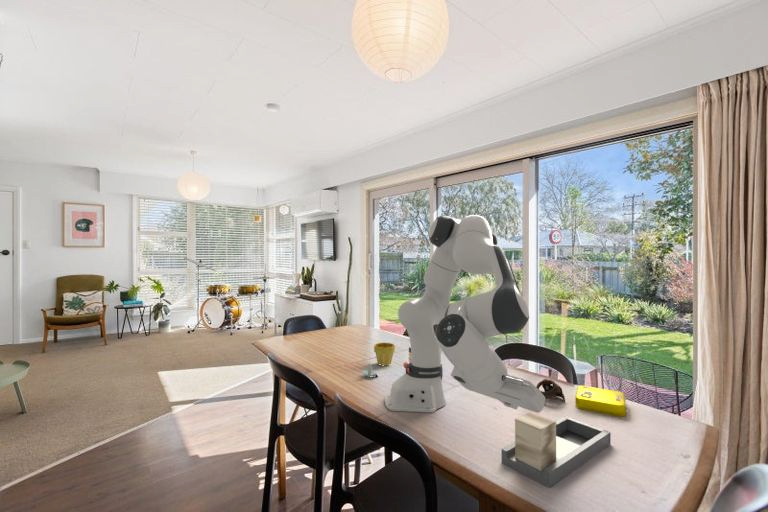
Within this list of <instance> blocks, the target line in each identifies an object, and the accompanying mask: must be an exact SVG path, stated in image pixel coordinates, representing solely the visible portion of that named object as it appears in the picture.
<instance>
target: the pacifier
mask: <svg viewBox="0 0 768 512" xmlns="http://www.w3.org/2000/svg"><path fill="white" fill-rule="evenodd" d="M372 370H373V366H372V364H371V363H367V364H366V369H364V370H362V375H363V376H365V377H367V376H368V377H367V378H369V377H370V376H376V374H378V372H373V371H372Z"/></svg>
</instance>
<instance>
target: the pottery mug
mask: <svg viewBox="0 0 768 512" xmlns="http://www.w3.org/2000/svg"><path fill="white" fill-rule="evenodd" d="M535 386H536V387H537V388H538V390H539V391H540V392H541V393H542V394H543V395H544V396H545V400H547V399H552V398H554V399H557V398H558V397H559V398H561V399H562V400H563V402H566V397H565V395H564V392H563V389H562V387H561V386H560V385H559V384H557V383H556V382H555V381H554V380H552V379H547V378H544V379H542V380H541V381H539V382H538V383H537V384H536V385H535ZM541 386H542V389H543V391H542V390H540V388H541Z"/></svg>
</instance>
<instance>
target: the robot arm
mask: <svg viewBox="0 0 768 512" xmlns="http://www.w3.org/2000/svg"><path fill="white" fill-rule="evenodd" d="M428 238H429V241H430V243H431V244H432V245H433V246H434V247H436V248H435V250H434V252H433V254H432V256H431V259H430V260H429V263H428V265H427V269H426V271H425V272H424V275H423V282H424V284H425V288H424V293H423V295H421V297H414V298H413V297H412V298H410V299H408V300H406V301H405V302H403V303H402V304H401V305H399V308H398V309H397V310H398V312H397V316H398V320H399V323H400V324H401V326H402V327H404V328H405V330H406V331H407V334H408V338H409V344H410V362H409V363H408V362H407V361H405V362H403V364H402V365H403V367H404V369H405V373H404V374H403V375H401V376H400V377H399V378H398V379H396V380H395V381H394V382H392V385H391V388H390V392H389V393H387V394H386V395H385V396H384V405H385V407H386V408H387V410H390V411H392V412H410V413H411V412H413V413H434V412H436V411H437V410H438V409H441V408H442V407H444V406H445V405H446V398H445V395H444V389H443V381H442V380H443V371H444V370H443V364H442V353H443V354H444V356H445V357H446V358H447V360H448V361H449V362H450V363H451V364H452V366H453V369H452V371H451V373H450V376H451V378H452V379H454V380H456V382H458V383H459V384H460V385H461V386H462V387H464V389H466V390H468V391H471V392H474V393H476V394H480V395H482V396H486V397H489V398H491V399H495V400H497V401H499V402H500V403H502V404H503V405H504V406H505V407H508V408H510V409H513V410H518V408H522V409H525V410H528V411H530V412H533V413H536V414H539V413H540V412H542V410H543V408H544V407H545V404H546V399H545V396H544V395H543V394H542V393H541V392H540V391H541V390H540V389H539V390H540V391H539V390H538V388H537V387H536V386H537V385H535V384H533V382H531V381H530V380H528V379H525V378H522V377H518V376H514V375H510V374H508V368H507V366H506V364H505V363H504V362H503V360H502V359H501V357H500V356H499V355H498V354H497V352H496V351H495V350H494V349H493V348H491V347H490V346H489V343H488V341H487V340H486V339H487V338H491V337H496V336H500V335H509V334H515V333H521V332H522V330H523V329H524V328H525V326H526V325H527V323H528V321H529V319H530V315H529V314H530V313H529V312H530V311H529V308H528V305H527V303H526V300H525V299H524V297H523V295H522V293H521V290H520V288H519V284H518V282H517V280H516V277H515V274H514V271H513V268H512V266H511V265H512V264H511V263H510V259H509V258H508V256H507V254H506V252H505V251H504V249H503V248H502V247H501V246H500V245H498V237H497V234H495V232H493V231H492V229H491V227H490V224H489V222H488V220H487V219H486V218H485V217H483V216H481V215H477V214H472V215H471V214H470V215H467V216H465V217H463V218H462V219H458V218H453V217H451V216H449V215H439V216H437V217H436V219H434V221H433V222H432V223H431V225H430V227H429V237H428ZM461 270H462V271H463V272H465V273H467V274H470V275H476V276H477V275H479V276H480V275H493V276H494V279H495V282H496V286H495V287H494V288H493V289H491V290H489V291H487V292H486V291H485V292H483V293H480V294H477V295H474V296H469V297H466V298H463V299H460V300H457V301H454V302H452V303H450V301H451V298H452V297H451V296H452V292H453V288H454V286H455V284H456V281H457V280H458V276H459V274H460V272H461ZM435 325H437V326H436V328H435V329H434V326H435Z"/></svg>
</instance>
